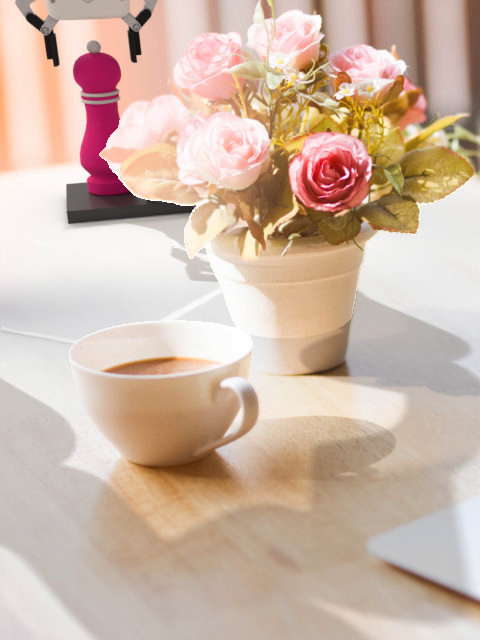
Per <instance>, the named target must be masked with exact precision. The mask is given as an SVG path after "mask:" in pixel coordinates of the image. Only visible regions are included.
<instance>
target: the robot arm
mask: <svg viewBox="0 0 480 640" xmlns="http://www.w3.org/2000/svg"><path fill="white" fill-rule="evenodd" d="M36 1H37V0H15V1H14V4H15V6H16V7H17V9H18V10H19V11H20V13H21V14H22V16H23V17H24V19H25V20H26V21H27V23H29V24H30V25H31V26H32V27H34V28H35V29H36V30H37V31H39V32H40V34H41V35H43V40H44V41H43V42H44V47H45V55H46V60H52V64H53V68H56V67H59V66H60V62H61V61H60V57H59V49H58V41H57V33H56V32H54V28H55V27H56V25H57V24H58V23H59V21H84V20H86V21H87V20H110V19H111V20H112V19H121V20H122V21H123V22H124V23H125V24H126V25H127V26H128V30H127V41H128V42H127V43H128V50H129V57H130V62H131V63H132V64H135V63H136V64H137V63H138V57H137V56H142V47H141V45H142V44H141V35H140V31H141V30H142V28H143V27H144V26H145V24H147V22H148V21H149V20H150V19H151V17H152V15H153V12H154V10H155V8H156V5H157V3H158V0H143V1H144V4H143V7H142V9H141V10H140V11H139V12H138V14H137V15H136V16H134V15H133V14H132V13H131V12H130V11H131V1H130V0H44V4H45V8H46V12H47V16H46V17H45V19H42V18H41V17H40V16H38V15H37V14H36V13H35V12H34V10H33V9H32V7H31V4H32V3H34V2H36Z"/></svg>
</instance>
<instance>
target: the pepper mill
mask: <svg viewBox="0 0 480 640" xmlns="http://www.w3.org/2000/svg"><path fill="white" fill-rule="evenodd" d="M86 50H87V52H86V53H84V54H81V55H80V56H79V57H77V59H76V60H74V63H73V65H72V76H73V80H74V82H75V83H76V85H78V86H79V87H80V88H81V90H80V91H79V95H80V102H81V103H83V104H84V109H85V117H86V118H85V119H86V122H85V130H84V133H83V137H82V140H81V144H80V149H79V163H80V166H81V167H82V168H83V169H84V170H85V172H87V173H88V174H89V176H88V177H87V178H86V182H87V186H88V191H89V192H90V193H91V194H95V195H119V194H124V193H128V192H130V191H129V190H128V189H127V188H126V187H125V186H124V185H123V183H122V182H121V181H120V180H119V179H118V176H117V175H116V174H115V173H113V172H112V170H111V169H110V168H109V165H108V163H107V161H105V160H104V159H102V158H101V157H100V156H99V153H100V152H101V151H102V150H103V149H104V148H105V147H106V143H107V140H108V138H109V137H110V135H111V134H112V133H113V132H114V131H115V130H116V129H117V128H118V125H119V120H121V117H120V112H119V103H118V102H119V101H120V100H121V96H120V91H121V90H120V89H119V88H117V86H118V84H119V83H120V81H121V79H122V70H121V66H120V64H119V61H118V60H117V59H116V58H115V57H114V56H112V55H111V54H108V53H107V52H101V50H102V46H101V43H100V42H98V41H97V40H94V39H93V40H89V41H88V42H87V44H86Z"/></svg>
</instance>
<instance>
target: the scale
mask: <svg viewBox="0 0 480 640" xmlns="http://www.w3.org/2000/svg"><path fill="white" fill-rule="evenodd" d="M65 190H66V191H65V195H66V196H65V197H66V199H65V200H66V201H65V202H66V219H67V224H69V225H71V224H78V223H79V224H81V223H90V222H92V223H93V222H102V221H113V220H124V219H125V220H126V219H136V218H146V217H157V216H159V217H160V216H169V215H180V214H190V213H193V212H192V210H193V209H194V207H195V208H196V205H195V206H180V205H176V204H174V203H167V202H162V201H150V200H145V199H141V198H138V197H136V196H134V195H133V194H132V193H131V192H128V193H124V194H119V195H95V194H91V193H90V192H89V191H88V186H87V181H86V182H85V181H84V182H73V183H66V184H65Z"/></svg>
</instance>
